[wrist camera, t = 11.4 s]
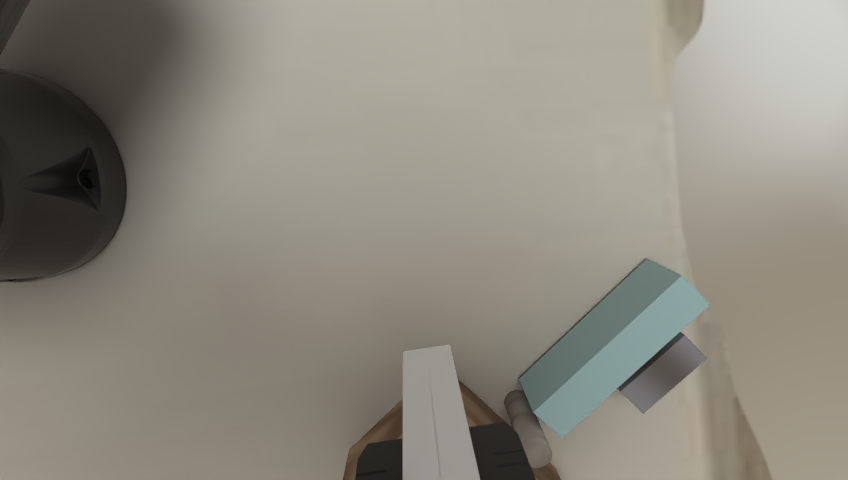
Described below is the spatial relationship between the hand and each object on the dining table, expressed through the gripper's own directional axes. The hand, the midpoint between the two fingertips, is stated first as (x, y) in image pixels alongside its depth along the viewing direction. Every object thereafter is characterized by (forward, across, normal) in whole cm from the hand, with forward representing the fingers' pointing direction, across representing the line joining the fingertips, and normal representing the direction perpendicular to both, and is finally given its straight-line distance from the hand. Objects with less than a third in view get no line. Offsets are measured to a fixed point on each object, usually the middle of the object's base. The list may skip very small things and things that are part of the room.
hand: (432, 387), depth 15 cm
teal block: (+21, +13, -10) cm, 27 cm away
